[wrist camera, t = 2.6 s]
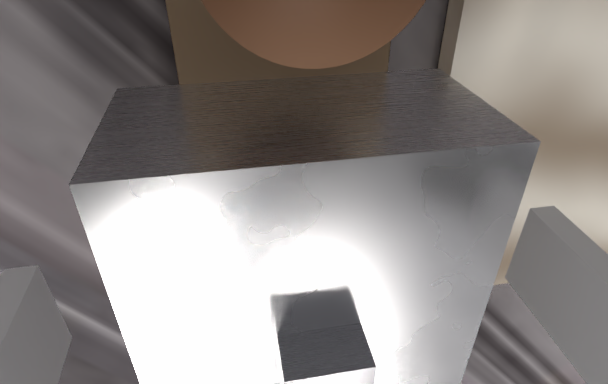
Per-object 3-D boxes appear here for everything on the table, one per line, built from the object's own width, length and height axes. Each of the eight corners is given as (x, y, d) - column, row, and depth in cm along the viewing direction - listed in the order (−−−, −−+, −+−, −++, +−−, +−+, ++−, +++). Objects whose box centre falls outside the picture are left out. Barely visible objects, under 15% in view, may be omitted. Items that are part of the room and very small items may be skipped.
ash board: (613, 253, 24) (627, 266, 23) (401, 282, 22) (409, 297, 21) (763, -39, 16) (793, -36, 15) (454, -31, 14) (469, -27, 13)
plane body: (334, 360, 24) (392, 575, 17) (235, 376, 24) (247, 609, 16) (364, -173, 12) (678, -329, 4) (152, -178, 11) (2, -384, 3)
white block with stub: (397, 314, 18) (465, 463, 13) (181, 346, 16) (169, 523, 12) (439, 68, 12) (585, 173, 7) (117, 88, 11) (45, 230, 6)
